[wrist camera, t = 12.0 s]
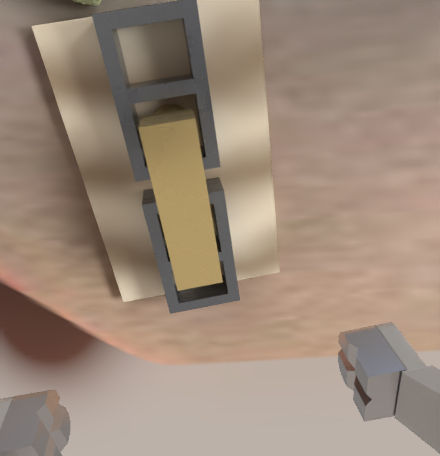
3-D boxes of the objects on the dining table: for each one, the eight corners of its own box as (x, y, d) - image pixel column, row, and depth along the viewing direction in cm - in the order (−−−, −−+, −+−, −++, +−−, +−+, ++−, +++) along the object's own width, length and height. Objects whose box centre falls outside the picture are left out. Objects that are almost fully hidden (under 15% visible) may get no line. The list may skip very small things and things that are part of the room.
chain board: (36, 25, 22) (31, 26, 21) (254, -8, 23) (258, -10, 22) (124, 294, 32) (123, 302, 31) (276, 265, 32) (279, 272, 31)
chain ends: (99, 15, 21) (91, 14, 19) (193, 0, 22) (196, -2, 20) (169, 293, 31) (170, 313, 29) (234, 280, 31) (239, 300, 29)
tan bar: (144, 104, 24) (138, 127, 18) (188, 96, 24) (195, 118, 18) (175, 239, 29) (177, 290, 23) (211, 232, 29) (222, 282, 23)
